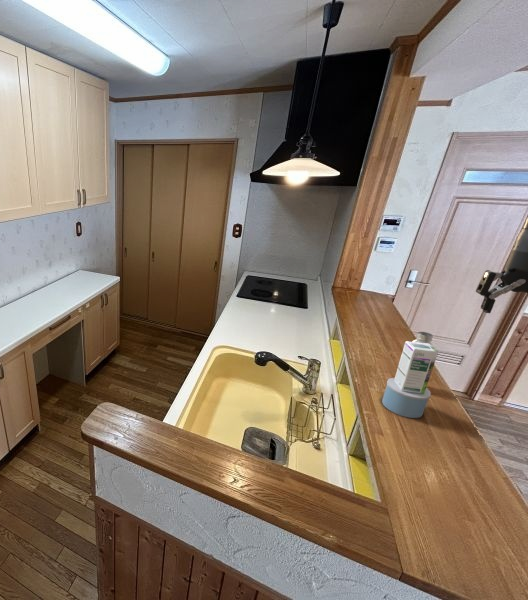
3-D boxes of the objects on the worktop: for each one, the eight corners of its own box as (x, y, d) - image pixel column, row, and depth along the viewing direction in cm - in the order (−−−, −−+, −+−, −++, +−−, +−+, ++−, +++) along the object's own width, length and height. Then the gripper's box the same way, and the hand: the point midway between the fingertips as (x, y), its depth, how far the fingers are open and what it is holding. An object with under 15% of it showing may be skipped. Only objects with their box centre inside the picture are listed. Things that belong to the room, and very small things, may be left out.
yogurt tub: (417, 402, 104) (424, 382, 101) (428, 422, 95) (436, 401, 93) (378, 393, 108) (383, 374, 106) (385, 412, 100) (391, 392, 97)
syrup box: (401, 391, 97) (414, 348, 92) (393, 380, 103) (405, 339, 98) (424, 394, 96) (439, 351, 91) (414, 383, 101) (429, 342, 96)
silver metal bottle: (398, 377, 117) (414, 327, 110) (422, 386, 112) (441, 334, 105) (393, 384, 113) (409, 333, 106) (418, 393, 108) (437, 340, 101)
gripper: (503, 250, 74) (477, 315, 79) (597, 255, 68) (562, 325, 73) (486, 244, 80) (464, 305, 85) (571, 248, 74) (541, 314, 79)
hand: (509, 314), depth 79 cm, fingers open, 8 cm apart
